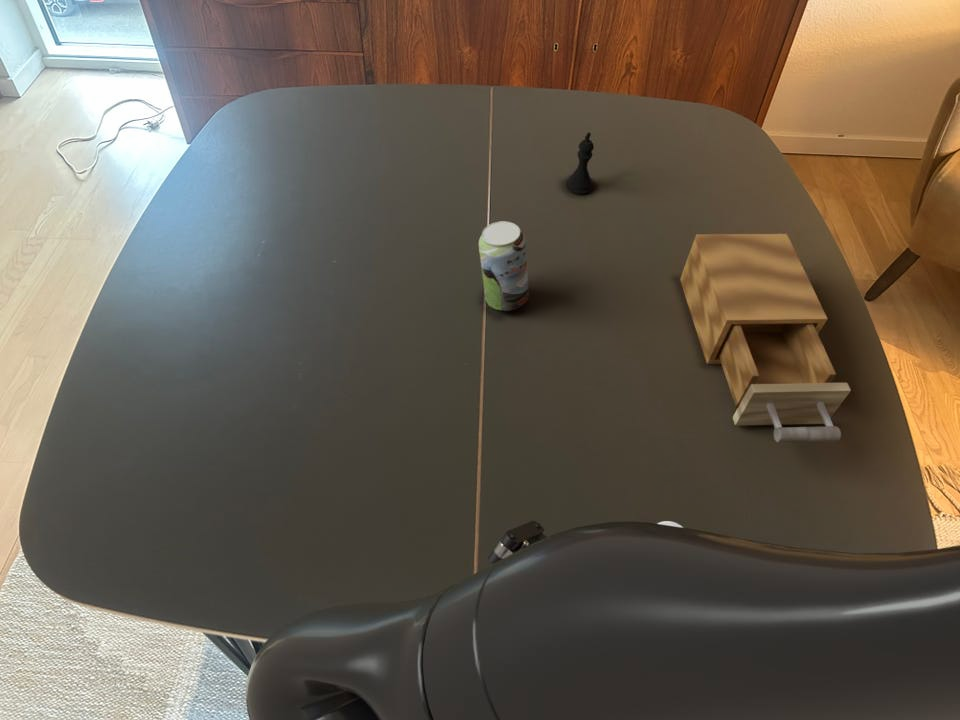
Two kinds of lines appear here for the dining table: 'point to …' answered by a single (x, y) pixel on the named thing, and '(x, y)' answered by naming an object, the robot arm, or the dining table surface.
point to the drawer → (782, 380)
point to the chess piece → (582, 170)
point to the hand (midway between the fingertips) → (613, 585)
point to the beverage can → (504, 266)
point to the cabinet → (745, 286)
